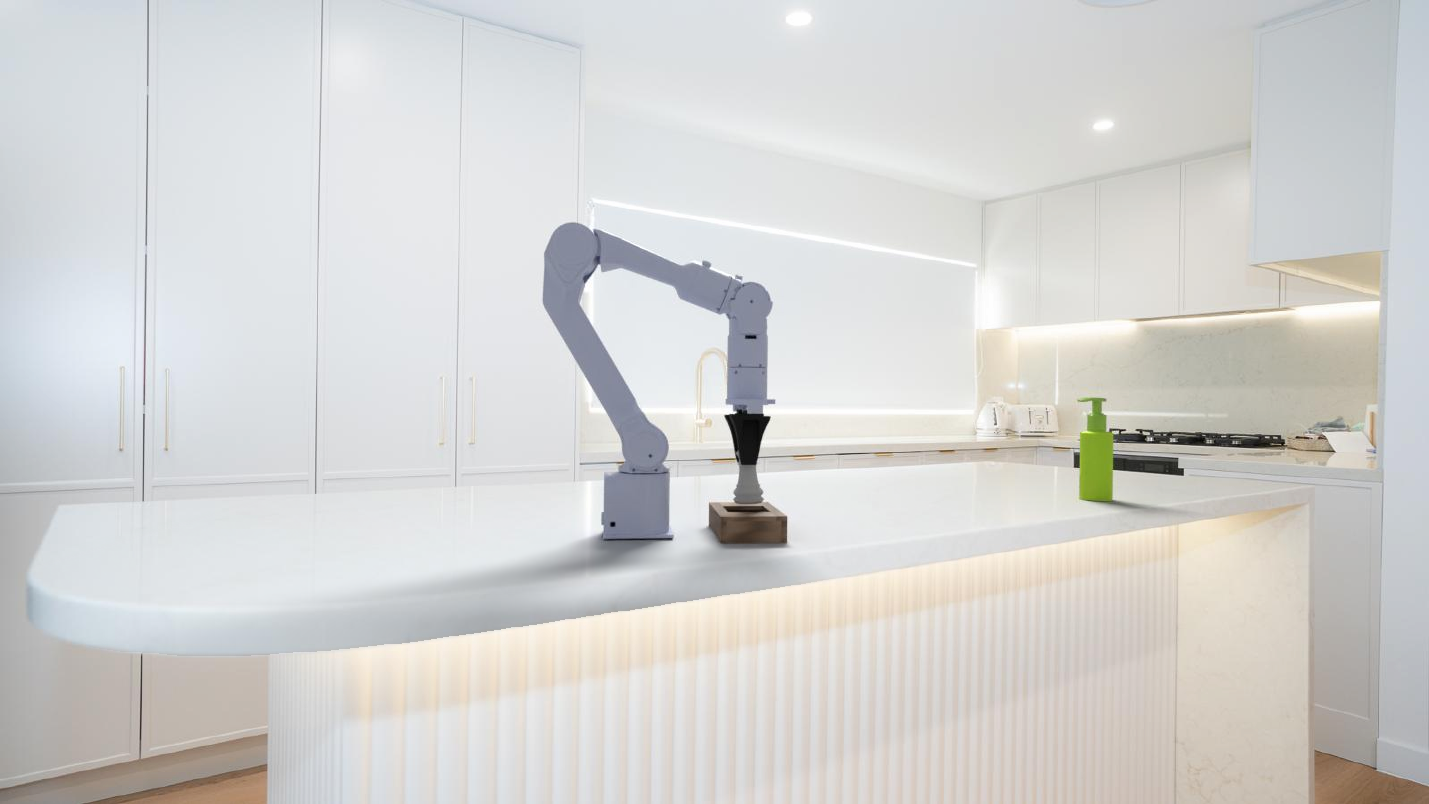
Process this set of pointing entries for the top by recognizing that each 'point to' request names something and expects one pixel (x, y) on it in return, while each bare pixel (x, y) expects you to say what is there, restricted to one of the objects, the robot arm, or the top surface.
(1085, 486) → the soap dispenser
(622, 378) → the robot arm
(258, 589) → the top surface
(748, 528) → the brown wooden hollow block
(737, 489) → the rook chess piece
